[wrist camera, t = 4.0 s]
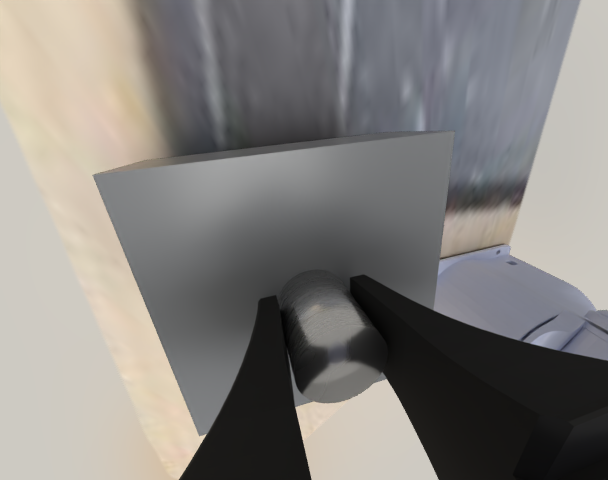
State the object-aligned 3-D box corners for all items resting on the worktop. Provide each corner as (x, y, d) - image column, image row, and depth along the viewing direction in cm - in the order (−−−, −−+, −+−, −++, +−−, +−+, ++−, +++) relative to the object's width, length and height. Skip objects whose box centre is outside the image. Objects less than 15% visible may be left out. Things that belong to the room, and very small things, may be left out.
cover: (386, 131, 14) (559, 129, 7) (382, 312, 19) (479, 430, 11) (145, 160, 12) (-9, 203, 4) (208, 356, 17) (187, 538, 9)
